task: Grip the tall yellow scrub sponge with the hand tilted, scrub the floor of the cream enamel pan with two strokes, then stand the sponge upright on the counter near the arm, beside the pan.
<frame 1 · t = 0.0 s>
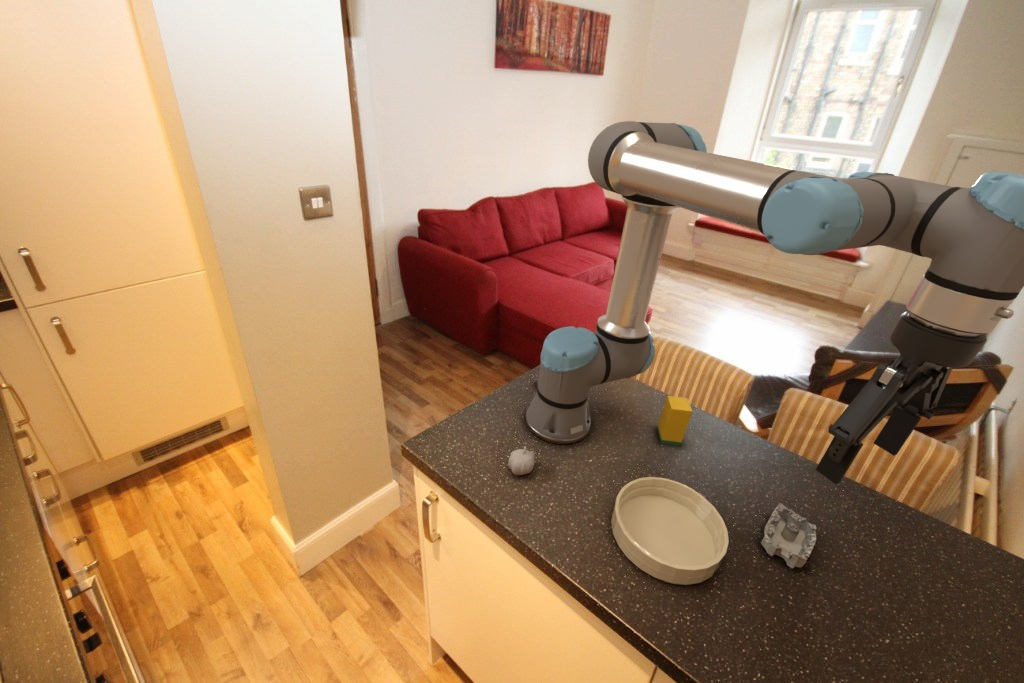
hand: (857, 462, 60), 28 cm above the breakfast bar, tool pointing down, fingers open, 13 cm apart
pan: (664, 535, 81), on the breakfast bar
garlic: (520, 470, 92), on the breakfast bar
sponge: (668, 437, 104), on the breakfast bar
egg carton: (784, 542, 82), on the breakfast bar
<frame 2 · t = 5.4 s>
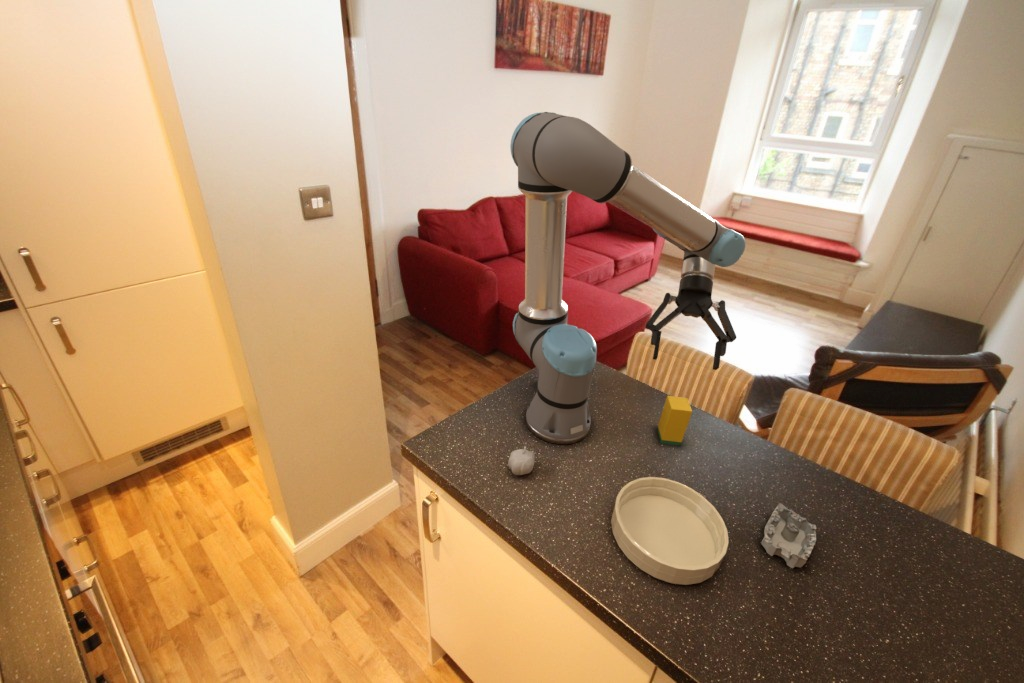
hand: (684, 363, 105), 15 cm above the breakfast bar, tool tilted 40°, fingers open, 13 cm apart
nothing on the breakfast bar moved.
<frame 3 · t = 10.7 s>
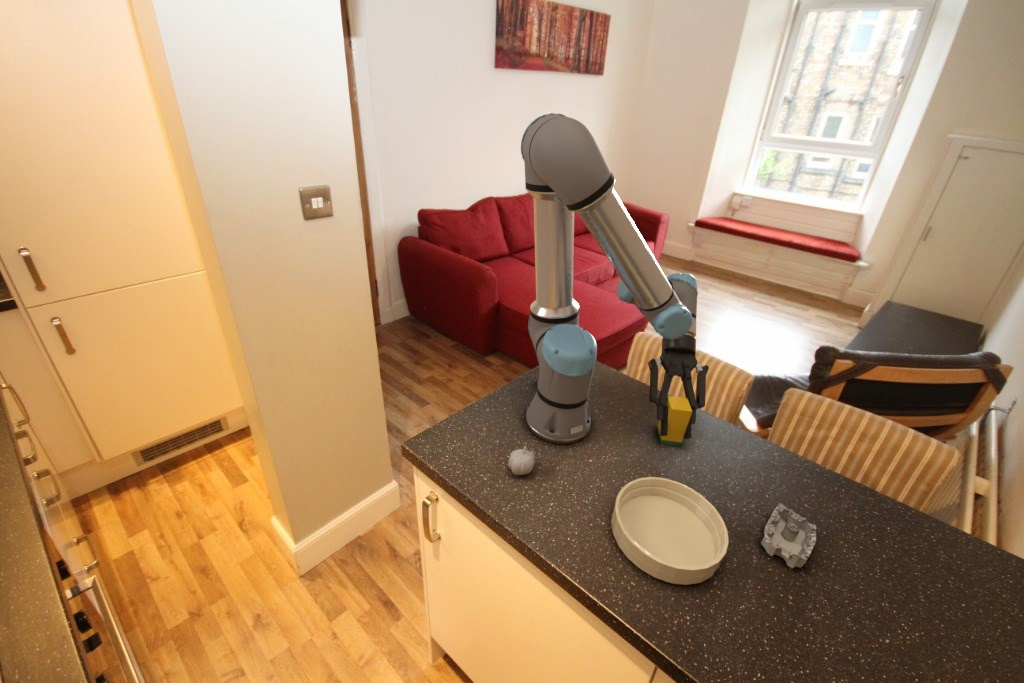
hand: (675, 436, 99), 3 cm above the breakfast bar, tool tilted 45°, fingers closed on sponge, 4 cm apart
sponge: (668, 437, 104), on the breakfast bar, touching gripper
everything else where it was.
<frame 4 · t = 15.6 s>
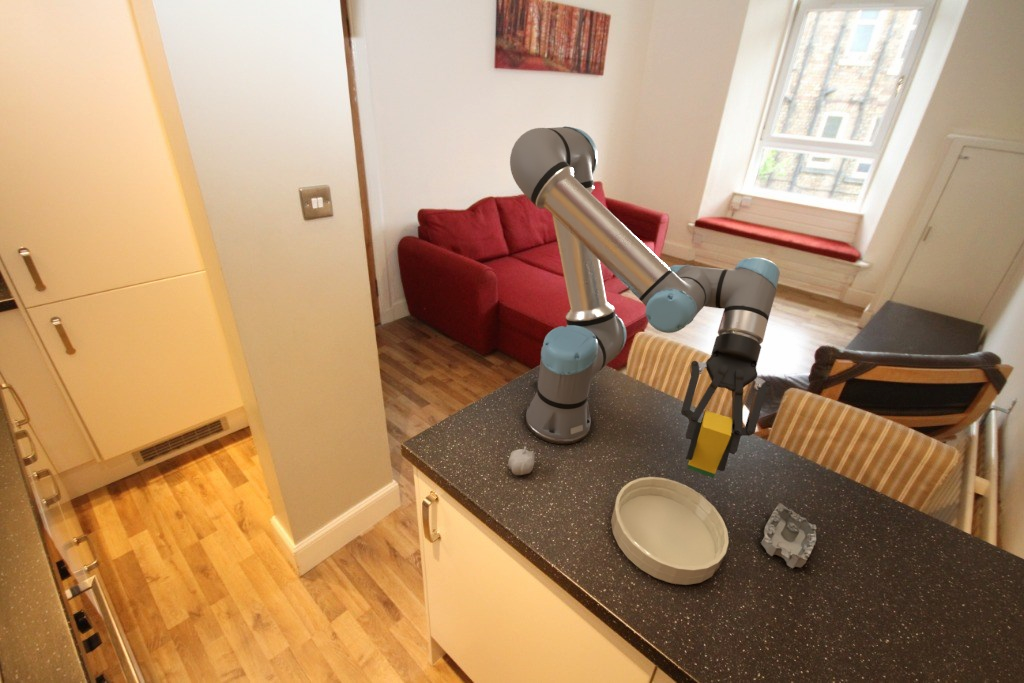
hand: (704, 464, 76), 15 cm above the breakfast bar, tool tilted 45°, fingers closed on sponge, 4 cm apart
sponge: (701, 464, 81), point 11 cm above the breakfast bar, touching gripper
everything else where it was.
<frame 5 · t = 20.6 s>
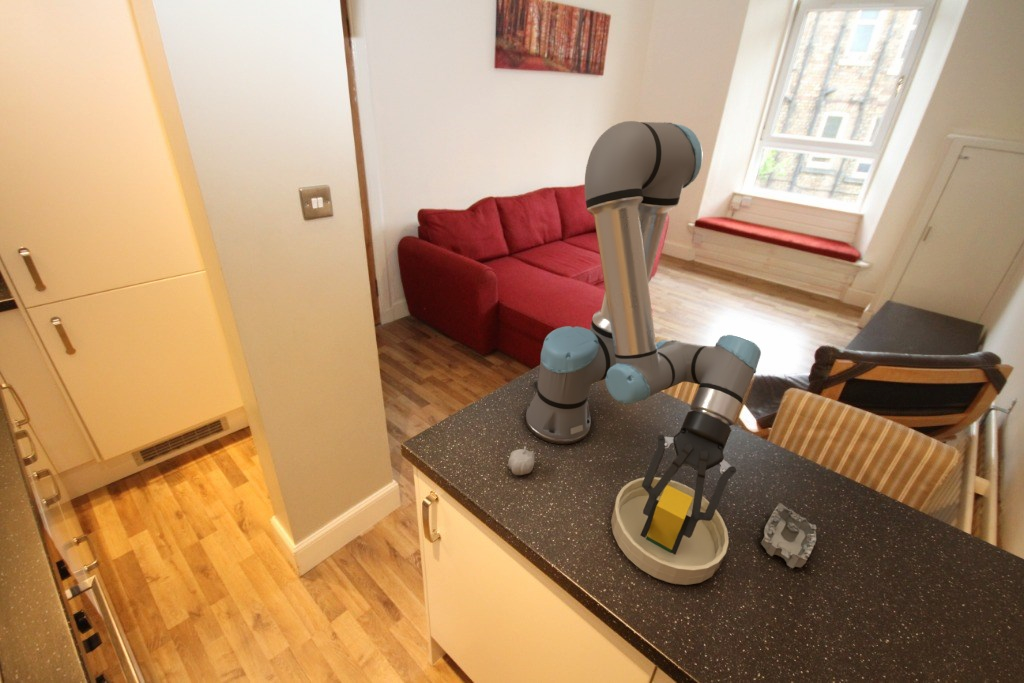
hand: (658, 544, 75), 4 cm above the breakfast bar, tool tilted 45°, fingers closed on sponge, 4 cm apart
sponge: (662, 535, 80), point 1 cm above the breakfast bar, tilted 7°, touching gripper
everything else where it was.
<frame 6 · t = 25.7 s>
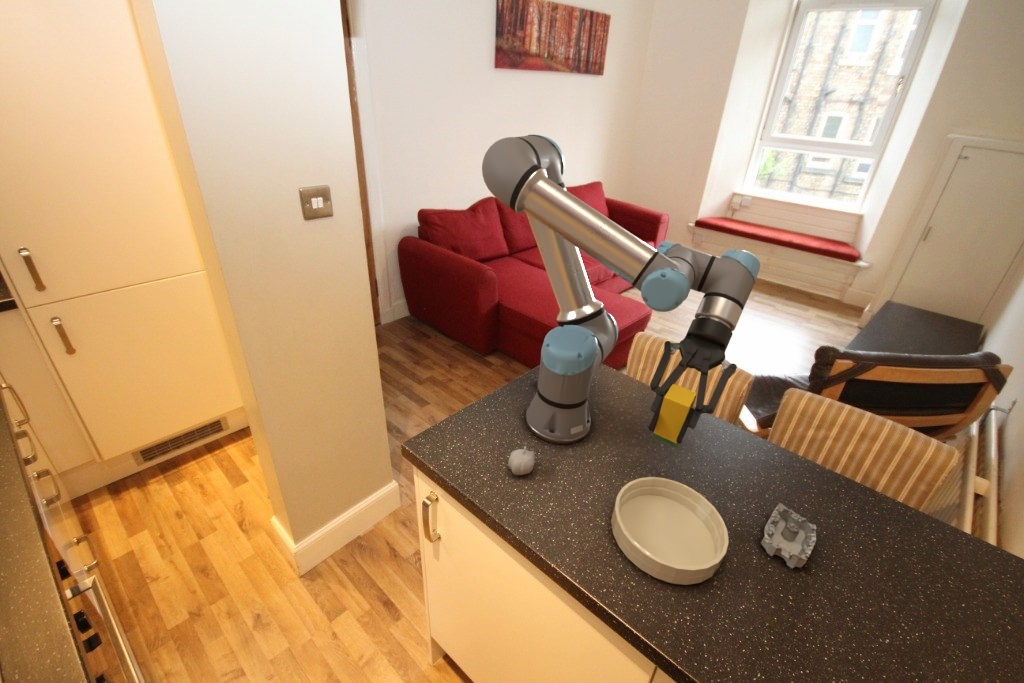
hand: (664, 435, 81), 15 cm above the breakfast bar, tool tilted 45°, fingers closed on sponge, 4 cm apart
sponge: (668, 434, 86), point 12 cm above the breakfast bar, touching gripper
everything else where it was.
when the fingers open (3 cm above the breakfast bar, at t = 30.5 s): sponge stays where it is, on the breakfast bar.
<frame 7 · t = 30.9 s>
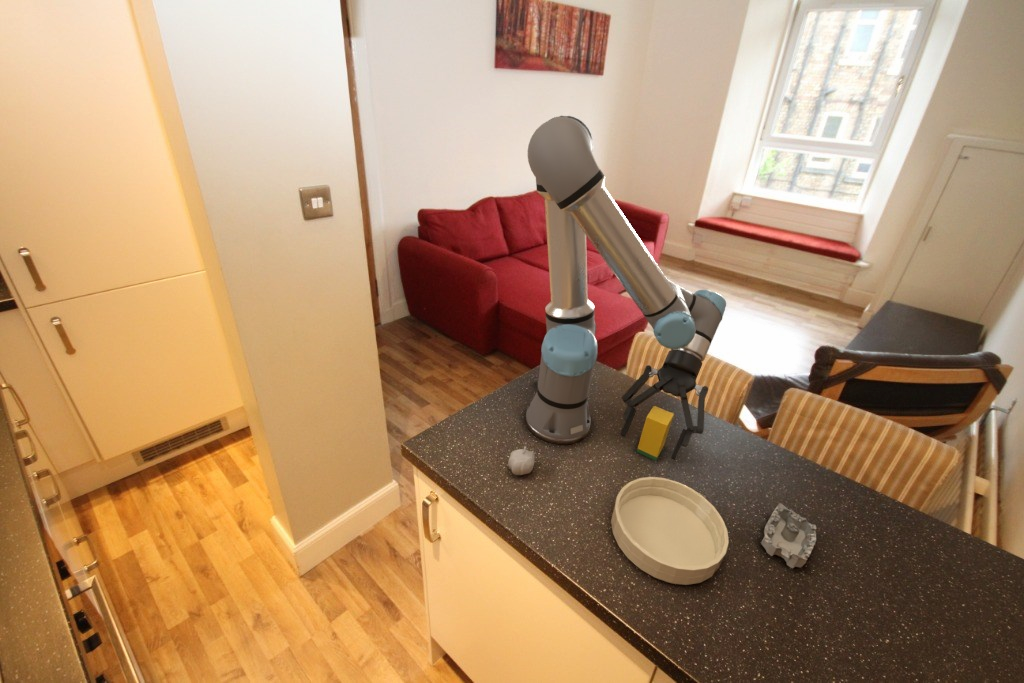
hand: (647, 446, 95), 4 cm above the breakfast bar, tool tilted 45°, fingers open, 10 cm apart
sponge: (649, 450, 100), on the breakfast bar
everything else where it was.
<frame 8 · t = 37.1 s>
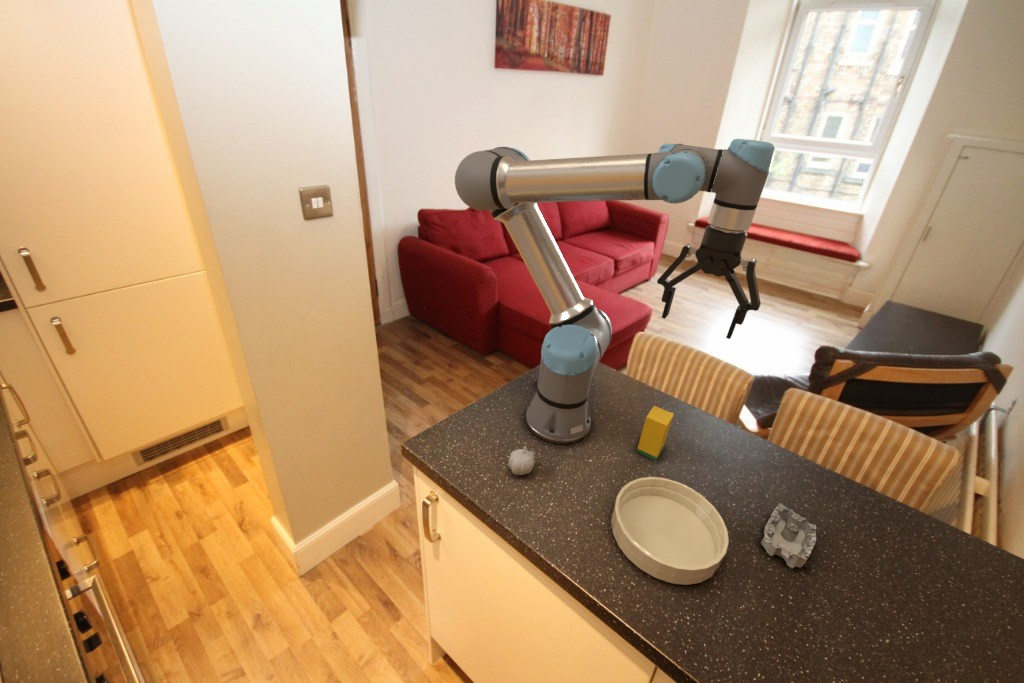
hand: (696, 326, 96), 27 cm above the breakfast bar, tool pointing down, fingers open, 13 cm apart
nothing on the breakfast bar moved.
at the end: sponge inside the target area on the breakfast bar beside the pan (0.9 cm from its centre), on the breakfast bar; sponge tilted 0°; the gripper is holding nothing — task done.
